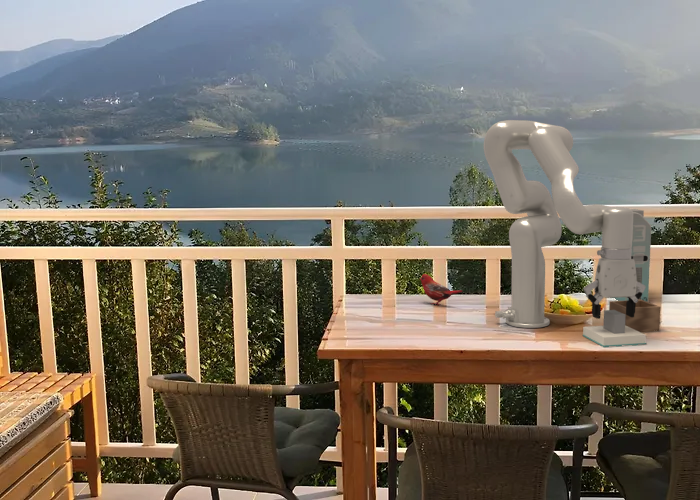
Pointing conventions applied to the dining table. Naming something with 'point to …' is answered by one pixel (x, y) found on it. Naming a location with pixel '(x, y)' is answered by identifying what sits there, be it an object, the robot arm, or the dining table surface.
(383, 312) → the dining table surface
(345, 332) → the dining table surface
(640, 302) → the box
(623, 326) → the lid
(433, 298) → the decorative bird figurine
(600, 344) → the mat
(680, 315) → the dining table surface
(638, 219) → the device
